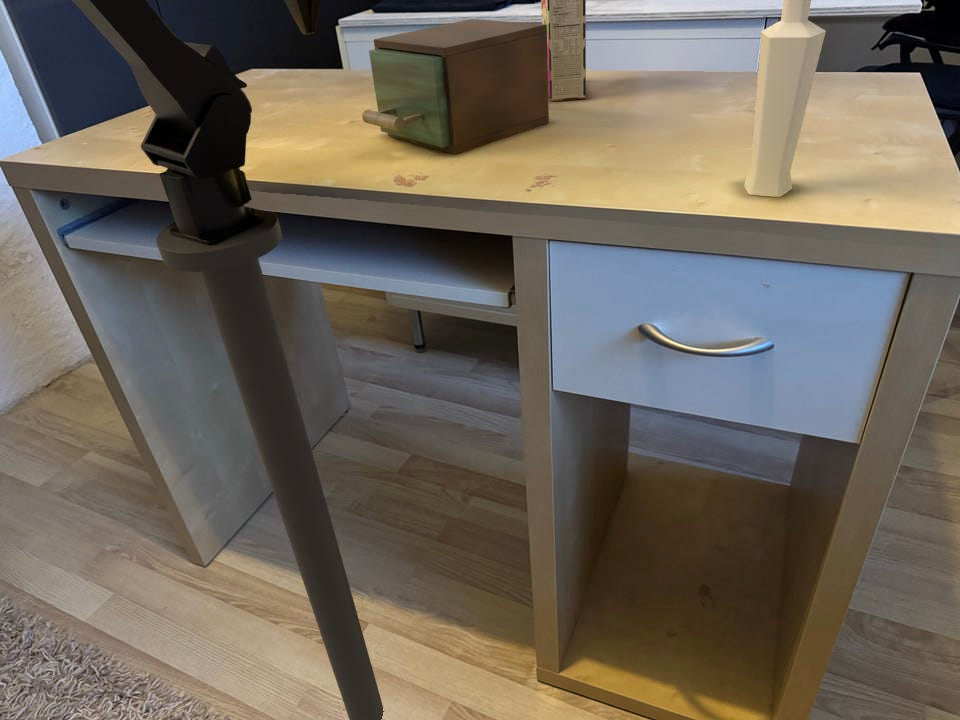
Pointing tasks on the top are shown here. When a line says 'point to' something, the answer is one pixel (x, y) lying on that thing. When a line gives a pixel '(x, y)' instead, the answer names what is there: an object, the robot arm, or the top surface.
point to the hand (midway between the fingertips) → (308, 33)
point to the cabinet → (485, 77)
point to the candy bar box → (565, 48)
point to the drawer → (410, 96)
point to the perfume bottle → (782, 96)
